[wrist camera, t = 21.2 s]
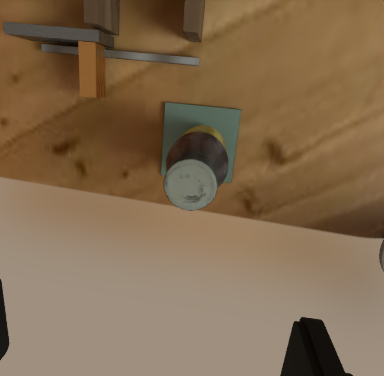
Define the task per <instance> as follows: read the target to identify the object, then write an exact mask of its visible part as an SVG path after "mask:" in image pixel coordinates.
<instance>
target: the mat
mask: <svg viewBox="0 0 384 376" xmlns="http://www.w3.org/2000/svg"><path fill="white" fill-rule="evenodd" d="M240 114H241V110H239V109H229V108H219V107H209V106H199V105H189V104H179V103H169V102H165V114H164V131H163V148H162V164H161V175H166V158H167V155H168V152H169V150H170V149H171V147H172V146H173V144H174V143H175V142H176V140H177V139H178V138H179V137H181V136H182V135H183V134H184V133H185V132H186V131H187V130H189V129H190V128H192V127H194V126H198V125H206V126H210V127H212V128H214V129H216V130H217V131H218V132H219V133H220V134H221V135H222V137H223V139H224V141H225V145H226V149H227V154H228V159H229V169H228V173H227V176H226V178H225V180H224V181H223V182H227V183H231V179H232V172H233V165H234V157H235V150H236V143H237V136H238V129H239V121H240Z"/></svg>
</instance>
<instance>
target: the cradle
mask: <svg viewBox="0 0 384 376" xmlns="http://www.w3.org/2000/svg"><path fill="white" fill-rule="evenodd" d="M119 3H120V0H83V5H84V23H86V24H88V25H90V26H92V27H94V28H96V29H98V30H100V31H102V32H104V33H106V34H110V35H119ZM204 8H205V0H185V9H184V23H183V32H184V34H185V35H186V37H187V38H188V40H189V41H191V42H201V41H202V30H203V19H204ZM41 46H42V51H45V52H51V53H62V54H73V55H79V48H78V47H70V46H59V45H48V44H41ZM105 57H106V58H117V59H128V60H139V61H150V62H160V63H171V64H182V65H193V66H199V63H200V59H199V58H192V57H181V56H170V55H159V54H148V53H137V52H126V51H114V50H105Z"/></svg>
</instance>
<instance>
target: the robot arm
mask: <svg viewBox="0 0 384 376" xmlns="http://www.w3.org/2000/svg"><path fill="white" fill-rule="evenodd" d="M379 256H380V264H381V267H382V269H383V271H384V240H383V243H382V245H381V248H380V254H379ZM8 347H9V336H8V329H7V321H6V313H5V306H4V298H3V290H2V282H1V279H0V360H1V359H2V357H3V356H4V355H5V353H6V352H7V350H8ZM280 376H353V375H352V374H349V373H345V371H344V369H343V367H342V364H341V362H340V360H339V357H338V355H337V353H336V351H335V348H334V346H333V343H332V341H331V339H330V336H329V334H328V332H327V330H326V327H325V325H324V323H323V321H322V320H319V319H312V318H306V317H301V319H300V321H299V322H297V321H295V322H294V323H293V327H292V331H291V335H290V339H289V343H288V347H287V351H286V355H285V359H284V363H283V367H282V371H281V375H280Z"/></svg>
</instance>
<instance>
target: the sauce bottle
mask: <svg viewBox="0 0 384 376" xmlns="http://www.w3.org/2000/svg"><path fill="white" fill-rule="evenodd" d="M228 169H229V159H228V154H227V149H226V145H225V141H224V139H223V137H222V135H221V134H220V133H219V132H218V131H217V130H216V129H214V128H212V127H210V126H206V125H198V126H194V127H192V128H190V129H189V130H187V131H186V132H185V133H184V134H183V135H182V136H181V137H179V138H178V139H177V140H176V142H175V143H174V144H173V146H172V147H171V149H170V150H169V152H168V155H167V158H166V175H165V178H164V191H165V193H166V195H167V197H168V199H169V200H170V201H171V203H172V204H174V205H175V206H176V207H179V208H181V209H183V210H188V211H194V210H198V209H201V208H203V207H206V206H207V205H208V204H209V203H210V202H211V201H212V200H213V199H214V197H215V195H216V193H217V188H218V187H219V186H220V185H221V184H222V183H223V181H224V180H225V178H226V176H227V173H228Z"/></svg>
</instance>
